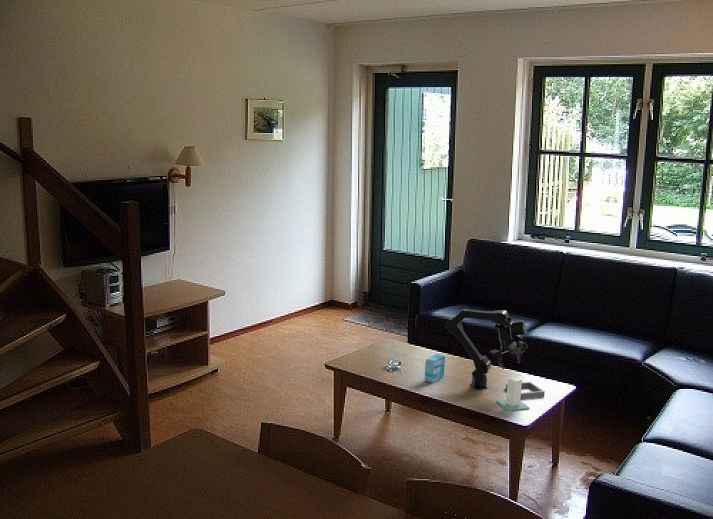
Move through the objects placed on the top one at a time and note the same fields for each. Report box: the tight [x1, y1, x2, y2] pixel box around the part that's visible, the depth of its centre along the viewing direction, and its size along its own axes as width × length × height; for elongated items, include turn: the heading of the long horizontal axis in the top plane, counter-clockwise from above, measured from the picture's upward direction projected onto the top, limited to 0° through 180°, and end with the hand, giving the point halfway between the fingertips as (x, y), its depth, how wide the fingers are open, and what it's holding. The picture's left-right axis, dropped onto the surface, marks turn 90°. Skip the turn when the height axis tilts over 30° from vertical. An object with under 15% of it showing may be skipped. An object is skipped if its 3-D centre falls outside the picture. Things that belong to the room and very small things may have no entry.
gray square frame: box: [505, 381, 546, 400], centre depth 343 cm, size 14×13×2 cm
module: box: [505, 376, 523, 406], centre depth 325 cm, size 4×4×12 cm
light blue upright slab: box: [424, 354, 446, 384], centre depth 355 cm, size 12×4×12 cm, turn 142°
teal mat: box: [496, 399, 530, 412], centre depth 327 cm, size 11×11×1 cm
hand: (511, 366), depth 341 cm, fingers open, 9 cm apart
